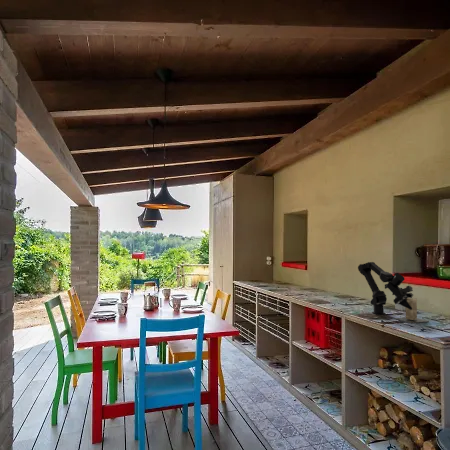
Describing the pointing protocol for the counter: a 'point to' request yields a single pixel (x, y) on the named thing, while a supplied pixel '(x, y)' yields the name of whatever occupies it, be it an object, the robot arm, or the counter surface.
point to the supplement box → (400, 307)
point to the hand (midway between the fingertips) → (413, 308)
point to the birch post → (412, 313)
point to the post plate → (411, 320)
